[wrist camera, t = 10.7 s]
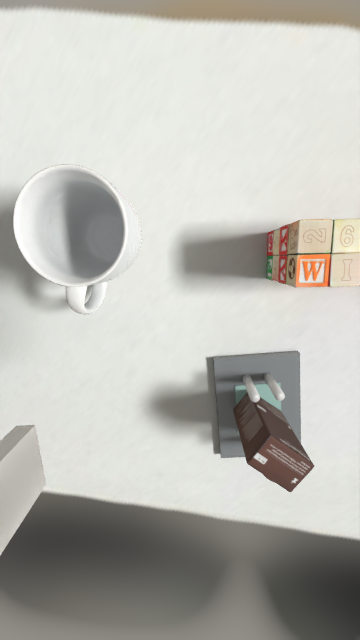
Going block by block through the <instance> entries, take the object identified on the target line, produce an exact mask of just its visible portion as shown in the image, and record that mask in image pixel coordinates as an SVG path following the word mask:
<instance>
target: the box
mask: <svg viewBox="0 0 360 640" xmlns="http://www.w3.org/2000/svg"><path fill="white" fill-rule="evenodd" d="M233 413H234V416H235V420H236V424H237V428H238V431H239V435H240V439H241V442H242V446H243V450H244V454H245V457H246V461H247V464H248V465H250V466H252V467H253V468H254V469H256V470H258V471H259V472H261V473H262V474H263V475H264V476H265V477H266V478H267V479H269V480H270V481H273V482H275V483H277V484H279V485H280V486H281V487H283V488H284V489H286V490H287V491H289V492H292V491H293V489H294V488H295V487H296V486H297V485H298V484H299V483H300V482H301V481H302V480H303V478H304V477H305V476H306V475H307V474H308V473H309V472H310V471H311V470H312V469H313V467H314V465H313V463H312V462H311V460H310V459H309V457H308V455H307V453H306V452H305V450H304V448H303V447H302V445H301V443H300V442H299V440H298V438H297V437H296V435H295V433H294V432H293V430H292V428H291V427H290V425H289V423H288V422H287V420H286V418H285V417H284V415H283V413H282V412H281V410H279V409H277V408H276V407H274V406H273V405H271V404H270V403H268V402H267V401H265V400H264V399H262V398H261V397H260V400H259V401H258V402H252V401H251V400H250V397H249V395H248V392H247V393H246V394H245V395H244V397H243V398H242V399H241V400H240V401H239V402H238V404H237V405H236V406H235V408H234V409H233Z"/></svg>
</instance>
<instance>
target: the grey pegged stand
mask: <svg viewBox="0 0 360 640" xmlns="http://www.w3.org/2000/svg"><path fill="white" fill-rule="evenodd" d="M213 360H214V374H215V387H216V400H217V414H218V427H219V440H220V454H221V458H231V457H245V454H244V450H243V446H242V442H241V439H240V435H239V431H238V428H237V424H236V420H235V416H234V413H233V409H234V408H235V406H236V405H237V404H238V402H239V401H240V400H241V399H242V398H243V397H244V395H245V394H246V393H247V392H248V395H249V397H250V400H251V401H252V402H258V401H259V400H260V397H261V398H262V399H264V400H265V401H267V402H268V403H270V404H271V405H273V406H274V407H276V408H277V409H279V410H281V412H282V413H283V415H284V417H285V418H286V420H287V422H288V423H289V425H290V427H291V428H292V430H293V432H294V433H295V435H296V437H297V438H298V440H299V442H300V443H301V417H300V353H299V352H298V351H291V352H277V353H263V354H249V355H235V356H221V357H213Z"/></svg>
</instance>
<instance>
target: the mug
mask: <svg viewBox="0 0 360 640" xmlns="http://www.w3.org/2000/svg"><path fill="white" fill-rule="evenodd" d="M13 229H14V235H15V239H16V242H17V245H18V247H19V249H20V251H21V253H22V255H23V256H24V258H25V259H26V261H27V262H28V263H29V265H30V266H31V267H32V268H33V269H34V270H35V271H36V272H37V273H39V274H40V275H41V276H43V277H44V278H46V279H47V280H49V281H51V282H54V283H56V284H59V285H63V286H66V297H67V301H68V304H69V306H70V308H71V309H72V310H73V311H75V312H77V313H80V314H91V313H93V312H95V311H96V310H97V309H98V308H99V307H100V305H101V304H102V301H103V299H104V296H105V292H106V287H107V281H109V280H112V279H114V278H116V277H118V276H120V275H121V274H123V273H124V272H125V271H127V270H128V268H130V266H131V265H132V264H133V263H134V261H135V259H136V258H137V255H138V253H139V251H140V247H141V240H142V238H141V237H142V234H141V226H140V222H139V219H138V216H137V213H136V212H135V210H134V208H133V206H132V205H131V204H130V202H129V201H128V200H127V199H126V197H125V196H124V195H123V194H122V193H121V192H120V191H119V190H118V189H116V187H114V186H113V185H112V184H111V183H109V182H108V181H107V180H106V179H104V178H103V177H102V176H101V175H99V174H98V173H96V172H94V171H92V170H90V169H88V168H85V167H82V166H78V165H70V164H62V165H55V166H51V167H48V168H46V169H43V170H41V171H40V172H38V173H36V174H35V175H34V176H33V177H31V178H30V179H29V180H28V181H27V183H26V184H25V185H24V187H23V188H22V190H21V191H20V193H19V195H18V198H17V200H16V204H15V207H14V213H13ZM89 285H93V289H92V293H91V296H90V298H89V300H88V301H87V303H86V304H84V301H85V295H86V291H87V286H89Z"/></svg>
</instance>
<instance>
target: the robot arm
mask: <svg viewBox="0 0 360 640" xmlns="http://www.w3.org/2000/svg"><path fill="white" fill-rule="evenodd" d="M45 485H46V482H45V476H44V471H43V466H42V460H41V455H40V450H39V444H38V439H37V434H36V428H35V425H26V426H16V427H15V428H14V429H13V430H12V431H10V432H9V433H8V434H7V435H6V436H5V437H4V438H3V439H2V440H1V441H0V555H1V553H2V552H3V550H4V548H5V547H6V545H7V544H8V542H9V541H10V539H11V538H12V536H13V535H14V533H15V532H16V530H17V528H18V527H19V525H20V524H21V522H22V521H23V519H24V518H25V516H26V515H27V513H28V511H29V510H30V508H31V507H32V505H33V504H34V502H35V501H36V499H37V498H38V496H39V494H40V493H41V491H42V490H43V488H44V487H45Z"/></svg>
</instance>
